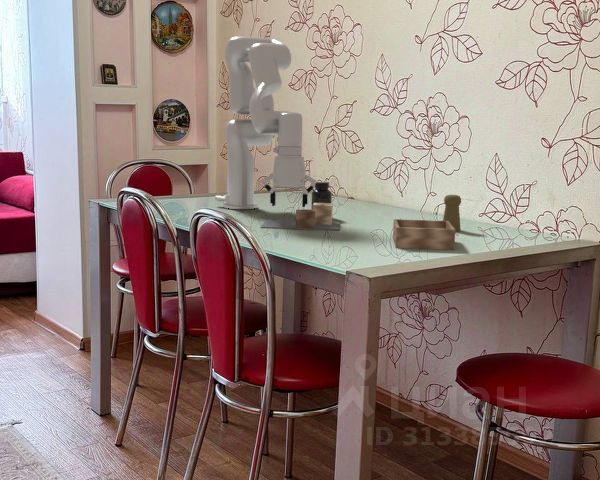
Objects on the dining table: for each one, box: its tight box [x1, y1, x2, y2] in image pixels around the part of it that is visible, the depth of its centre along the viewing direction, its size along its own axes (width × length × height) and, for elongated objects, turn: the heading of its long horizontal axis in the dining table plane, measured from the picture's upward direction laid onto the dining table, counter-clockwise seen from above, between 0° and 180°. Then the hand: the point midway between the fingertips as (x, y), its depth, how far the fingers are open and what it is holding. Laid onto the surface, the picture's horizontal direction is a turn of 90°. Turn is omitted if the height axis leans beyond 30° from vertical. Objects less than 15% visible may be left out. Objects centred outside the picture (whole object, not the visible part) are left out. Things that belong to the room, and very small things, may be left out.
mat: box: [259, 218, 341, 231], centre depth 244 cm, size 24×16×1 cm, turn 86°
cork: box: [442, 194, 462, 233], centre depth 240 cm, size 6×6×11 cm
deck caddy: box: [392, 218, 456, 251], centre depth 216 cm, size 16×16×6 cm
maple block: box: [313, 202, 333, 225], centre depth 247 cm, size 6×6×6 cm
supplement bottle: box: [310, 181, 333, 210], centre depth 259 cm, size 7×7×12 cm
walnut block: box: [295, 209, 315, 228], centre depth 238 cm, size 5×5×5 cm
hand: (288, 206), depth 247 cm, fingers open, 9 cm apart
